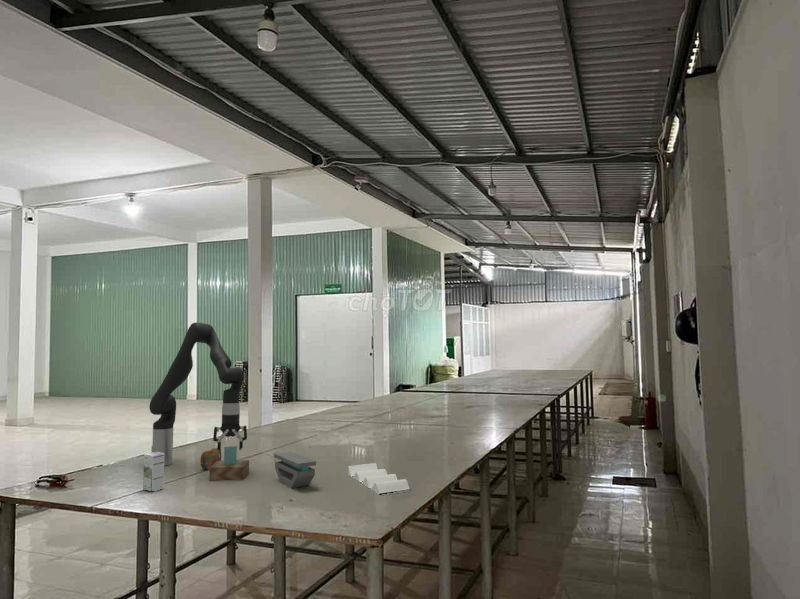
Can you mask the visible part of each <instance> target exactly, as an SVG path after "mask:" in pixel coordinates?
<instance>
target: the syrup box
mask: <svg viewBox="0 0 800 599" xmlns="http://www.w3.org/2000/svg"><path fill="white" fill-rule="evenodd" d="M164 488H165V466H164V453H160V452H146V453H144V454H143V491H145V490H148V491H147V492H149V491H155V492H157V491H156V490H159V491H161V490H160V489H162V490H164Z"/></svg>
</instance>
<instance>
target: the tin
mask: <svg viewBox="0 0 800 599" xmlns="http://www.w3.org/2000/svg"><path fill="white" fill-rule="evenodd" d="M221 451H222V450H221ZM221 451H219V450H218V449H217V447H215V448H211V449H208V450H205V451H203V452H202V454H201V455H200V467H201V469H202V470H210V467H211V466H212V465H213V464H214V463H216V462H217V461H222V452H221Z"/></svg>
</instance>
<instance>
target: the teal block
mask: <svg viewBox="0 0 800 599" xmlns="http://www.w3.org/2000/svg"><path fill="white" fill-rule="evenodd" d="M237 447H238V446H236V445H232V446H231V445H230V446H224V452H223V453H224V454H223V455H224V456H223V461H224V465H234V464H236V460H237V450H238V449H237Z"/></svg>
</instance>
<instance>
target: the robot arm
mask: <svg viewBox="0 0 800 599" xmlns="http://www.w3.org/2000/svg"><path fill="white" fill-rule="evenodd" d="M196 343H201V344H206V345H207V346H208V347H209V348H210V350H209V351H210V352H209V357H210V361H211V362H212V364H213V366H214V367H215V369H216V370H217V375H218V379H219V381H220V382H221V383H222V384H224V385H230V387H229V388H227V389H225V390H223V392H222V407H221V426H214V428H213V439H212V441H213V442H215V443H217V445H216V446H217V447H216V448H217V449H218V450H219V451H222V440H223V439H224V438H225V437H226V438H228V437H236V438H237V439H238V440H239V441H238V442H239V445H238V446H239V448H238V449H239V451H241V450H242V449H243V445H244V444H243V443H244V441H246V440H247V439H248V434H247V433H248V432H247V431H248V430H247V425H245V424H244V425H243V426H242V425H241V424H240V420H241V419H240V417H241V416H240V412H241V406H240V393H241V390H242V386H243V384H244V383H243V382H244V379H245V373H244V371H243V369H242V368H241V367H232V363H233V362H232V360H231V359H230V357H229V356H228V354H227V353H226V351H225V350H224V349H223V346H222V345H221V342H220V339H219V337H218V335H217V332H216V330H215V328H214V326H212V325H211V324H209V323H202V322H193V323H191V324H190V325H189V327H188V328H187V331H186V333H185V336H184V339H183V341H182V342H181V345H180V347H179V350H178V352H177V355H176V356H175V358H174V360H173V361H172V363H171V365H170V367H169V368H168V371H167V374H166V375H165V377H164V378H163V380H162V383H161V384H160V385H159V387H158V389H156V392H155V393H154V395H153V396H152V398H151V400H150V402H149V405H148V406H149V411H150V413H151V414H153V416H154V415H155V416H160V417H159V418H158V419H157V420H156V421H154V422H153V424H152V441H151V442H152V444H151V452H160V453H164V467H166V466H169V465H172V464H173V459H174V458H173V457H174V456H173V455H174V454H173V453H174V424H175V422H176V414H177V412H176V411H177V401H176V398H175V396H174V395H172V394H173V392H174V391H175V390H177V389H178V387H180V386H181V385H182V384H183V383H184V382H185V381H187V379H188V377H189V375H190V373H191V371H192V370H193V367H194V362H193V355H192V354H193V353H192V351H193V349H194V346H195V344H196ZM240 430H241V431H242V432H243V437H242V436H241V434H240V433H239V432H240ZM220 431H221V435H220V436H219V438H217V436H218V435H217V434H218V433H219V432H220Z"/></svg>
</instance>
